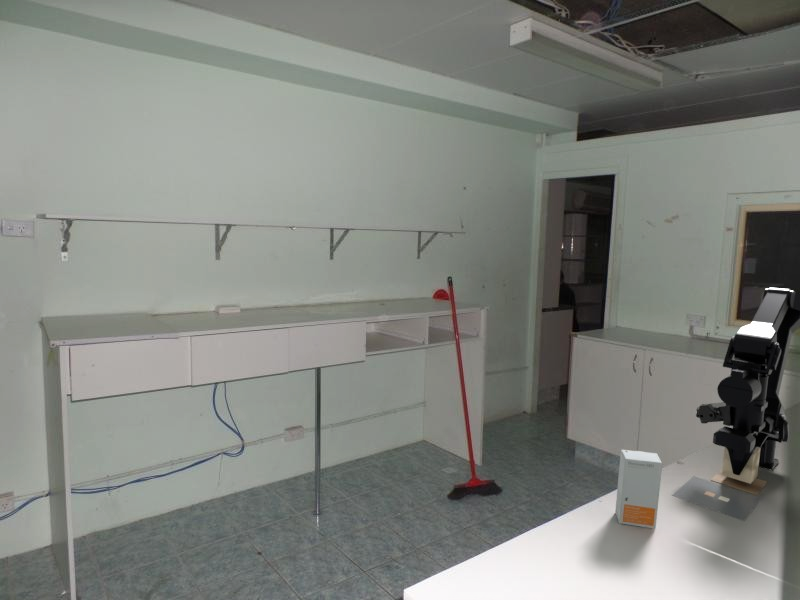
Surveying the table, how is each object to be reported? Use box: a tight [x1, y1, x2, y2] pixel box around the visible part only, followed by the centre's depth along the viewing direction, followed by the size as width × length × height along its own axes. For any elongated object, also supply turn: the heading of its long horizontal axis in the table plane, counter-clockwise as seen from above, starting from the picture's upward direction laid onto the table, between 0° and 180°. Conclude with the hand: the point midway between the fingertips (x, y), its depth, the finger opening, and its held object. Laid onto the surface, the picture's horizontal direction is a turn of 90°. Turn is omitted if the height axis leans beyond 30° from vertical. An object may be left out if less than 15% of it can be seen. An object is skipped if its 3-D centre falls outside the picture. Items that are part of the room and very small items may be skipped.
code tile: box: [671, 475, 763, 522], centre depth 101 cm, size 12×12×1 cm
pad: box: [710, 469, 768, 496], centre depth 107 cm, size 8×8×1 cm
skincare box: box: [615, 449, 663, 530], centre depth 91 cm, size 6×4×12 cm
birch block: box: [721, 447, 761, 484], centre depth 107 cm, size 5×5×6 cm
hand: (740, 470), depth 107 cm, fingers closed on birch block, 5 cm apart
